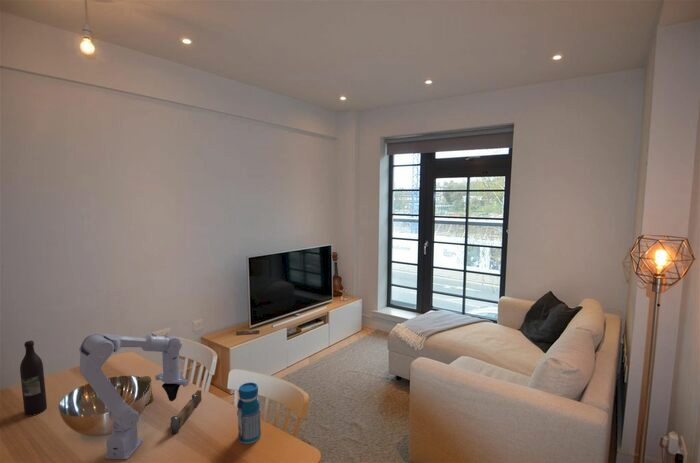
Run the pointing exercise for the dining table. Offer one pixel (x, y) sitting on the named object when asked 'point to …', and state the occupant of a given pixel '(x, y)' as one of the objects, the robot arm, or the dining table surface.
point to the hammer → (174, 419)
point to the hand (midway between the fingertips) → (172, 399)
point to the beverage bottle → (248, 413)
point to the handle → (185, 413)
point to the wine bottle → (32, 381)
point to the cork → (144, 386)
